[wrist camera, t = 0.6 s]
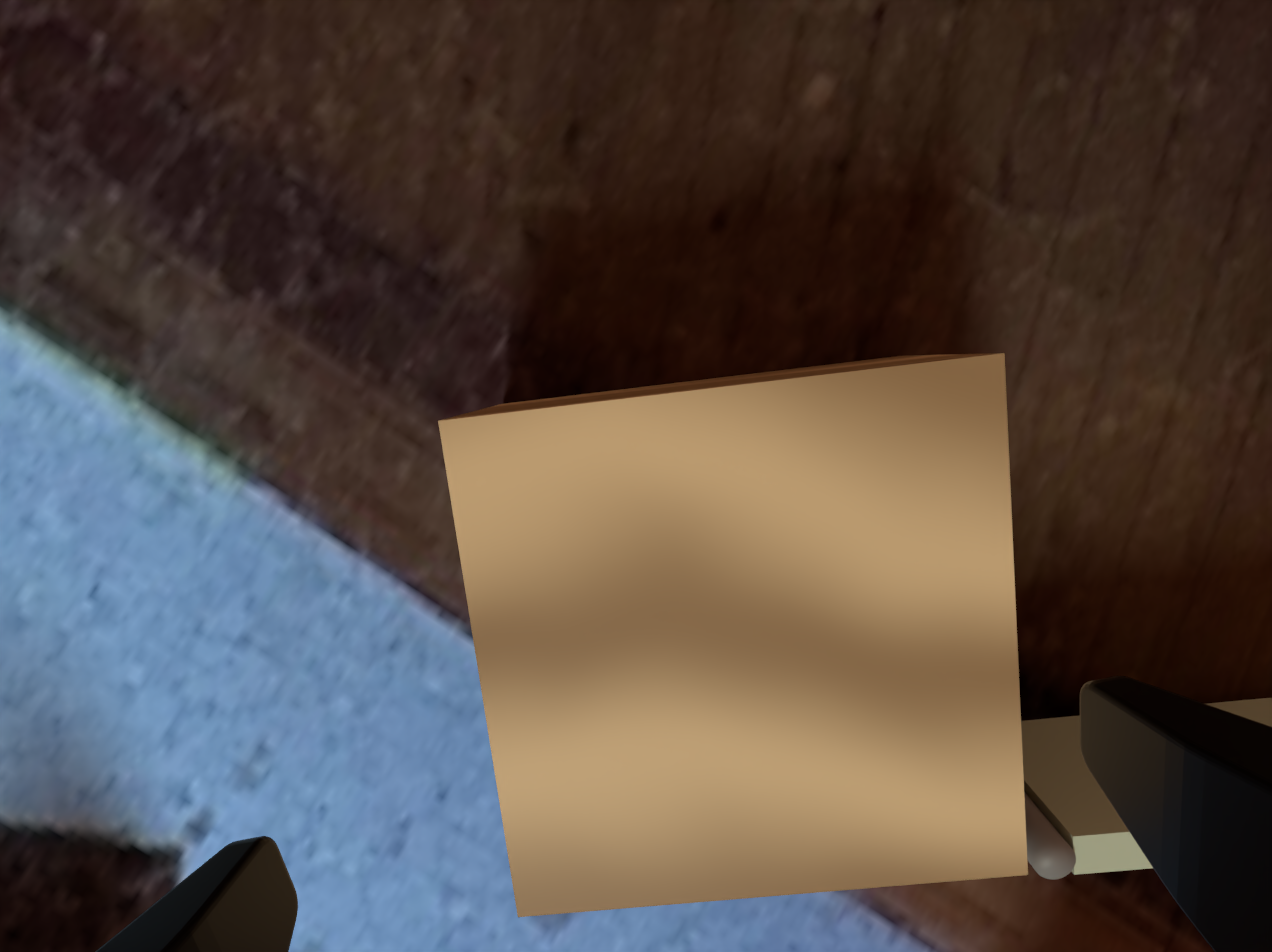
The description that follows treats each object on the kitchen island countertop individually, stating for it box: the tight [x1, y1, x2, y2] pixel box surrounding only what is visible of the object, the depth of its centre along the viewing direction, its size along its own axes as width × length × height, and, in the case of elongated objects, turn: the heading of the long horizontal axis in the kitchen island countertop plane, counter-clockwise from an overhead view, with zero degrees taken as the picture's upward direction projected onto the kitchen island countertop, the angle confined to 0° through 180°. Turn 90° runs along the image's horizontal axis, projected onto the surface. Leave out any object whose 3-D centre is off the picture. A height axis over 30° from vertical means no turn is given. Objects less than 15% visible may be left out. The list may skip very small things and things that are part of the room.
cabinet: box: [438, 353, 1028, 917], centre depth 20 cm, size 12×12×6 cm
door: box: [1021, 698, 1272, 879], centre depth 20 cm, size 12×1×6 cm, turn 97°
